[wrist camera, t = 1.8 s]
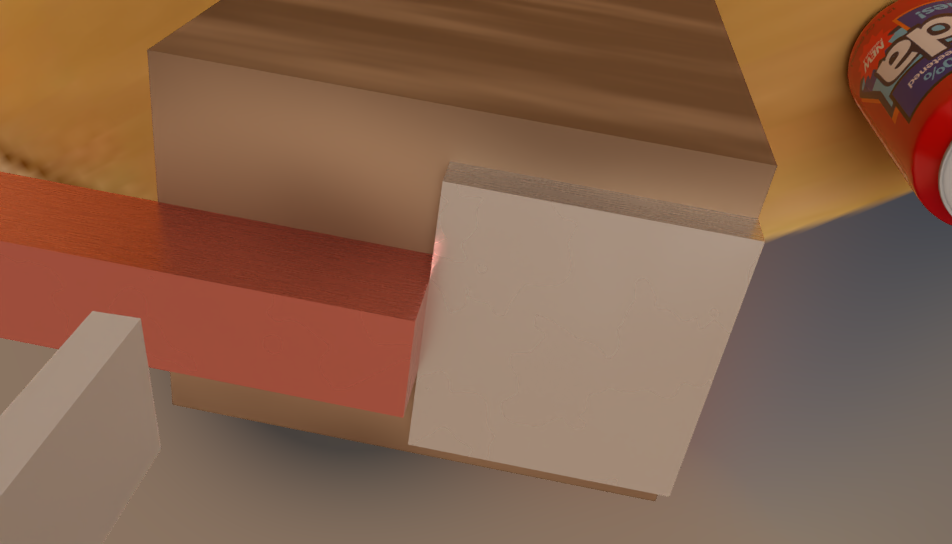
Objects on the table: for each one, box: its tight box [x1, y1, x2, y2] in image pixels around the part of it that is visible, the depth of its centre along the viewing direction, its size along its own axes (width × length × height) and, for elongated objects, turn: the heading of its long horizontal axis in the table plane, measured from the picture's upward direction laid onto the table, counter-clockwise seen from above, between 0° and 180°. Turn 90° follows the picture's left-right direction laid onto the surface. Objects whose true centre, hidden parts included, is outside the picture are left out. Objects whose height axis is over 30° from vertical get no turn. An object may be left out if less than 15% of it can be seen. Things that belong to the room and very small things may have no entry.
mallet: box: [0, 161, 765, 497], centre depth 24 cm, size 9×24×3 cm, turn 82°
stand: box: [147, 0, 777, 501], centre depth 37 cm, size 12×16×30 cm
